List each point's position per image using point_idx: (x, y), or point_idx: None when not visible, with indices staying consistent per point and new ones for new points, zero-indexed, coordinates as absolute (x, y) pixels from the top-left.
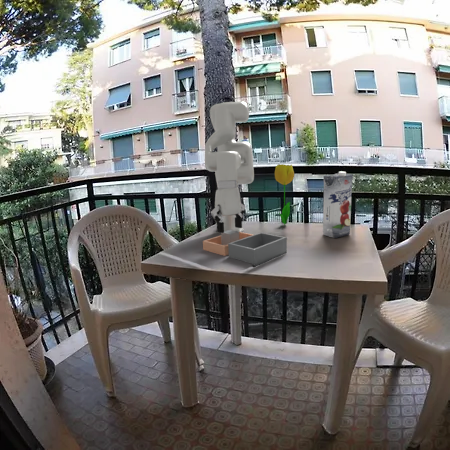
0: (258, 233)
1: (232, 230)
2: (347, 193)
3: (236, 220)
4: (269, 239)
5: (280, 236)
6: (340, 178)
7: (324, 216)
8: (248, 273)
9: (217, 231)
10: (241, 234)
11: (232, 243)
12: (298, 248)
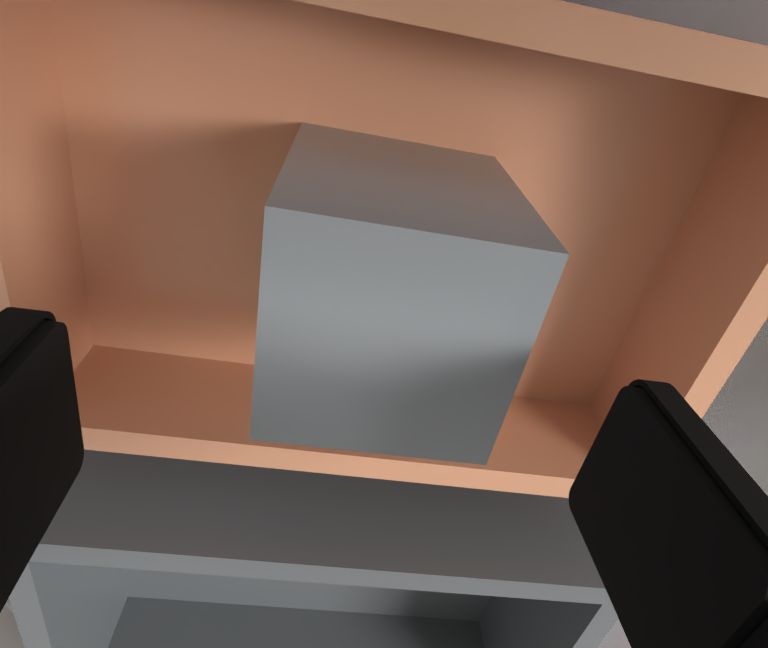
0: (583, 589)
1: (513, 340)
2: None
3: (690, 559)
4: (542, 616)
5: None
6: None
7: None
8: (6, 602)
9: (11, 313)
10: (739, 265)
11: (51, 557)
12: (616, 626)
